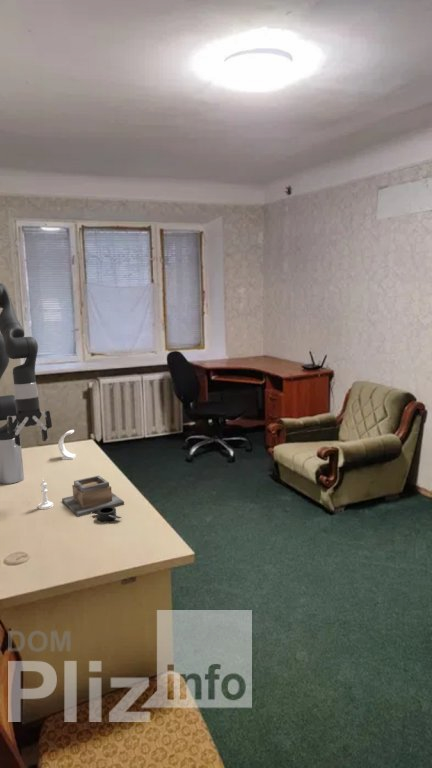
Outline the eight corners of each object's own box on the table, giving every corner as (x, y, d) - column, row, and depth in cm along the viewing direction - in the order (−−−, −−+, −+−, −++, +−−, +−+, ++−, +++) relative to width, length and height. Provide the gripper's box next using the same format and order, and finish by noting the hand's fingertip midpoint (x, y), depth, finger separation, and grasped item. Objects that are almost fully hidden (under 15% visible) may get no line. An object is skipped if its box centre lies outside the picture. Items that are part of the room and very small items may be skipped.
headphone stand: (73, 459, 233) (70, 432, 231) (59, 459, 233) (57, 432, 231) (76, 456, 237) (74, 429, 235) (62, 456, 237) (60, 430, 235)
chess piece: (39, 510, 178) (36, 481, 177) (37, 505, 183) (34, 477, 181) (54, 507, 181) (52, 479, 179) (51, 502, 185) (49, 474, 183)
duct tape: (99, 527, 165) (98, 518, 164) (91, 515, 173) (90, 507, 173) (123, 522, 168) (122, 513, 167) (114, 510, 177) (114, 502, 176)
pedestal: (62, 501, 186) (60, 480, 184) (105, 490, 194) (104, 470, 193) (78, 516, 173) (76, 494, 171) (124, 504, 181) (122, 483, 180)
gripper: (44, 392, 188) (49, 437, 190) (2, 398, 181) (7, 445, 183) (50, 394, 182) (55, 441, 184) (7, 400, 174) (12, 449, 176)
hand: (31, 443), depth 183 cm, fingers open, 8 cm apart
